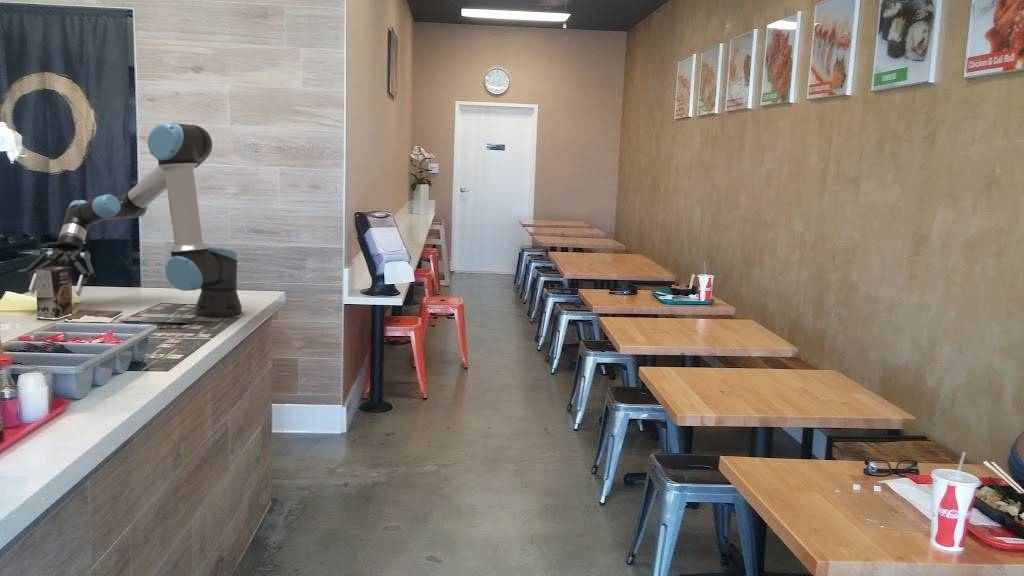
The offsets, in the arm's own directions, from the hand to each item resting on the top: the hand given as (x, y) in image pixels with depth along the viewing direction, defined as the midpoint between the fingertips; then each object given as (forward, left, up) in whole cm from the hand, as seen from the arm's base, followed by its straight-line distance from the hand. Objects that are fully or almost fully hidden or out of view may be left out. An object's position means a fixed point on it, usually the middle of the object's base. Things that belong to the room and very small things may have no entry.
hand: (54, 292), depth 242 cm
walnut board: (-12, +1, -8) cm, 14 cm away
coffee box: (0, 0, -8) cm, 8 cm away
